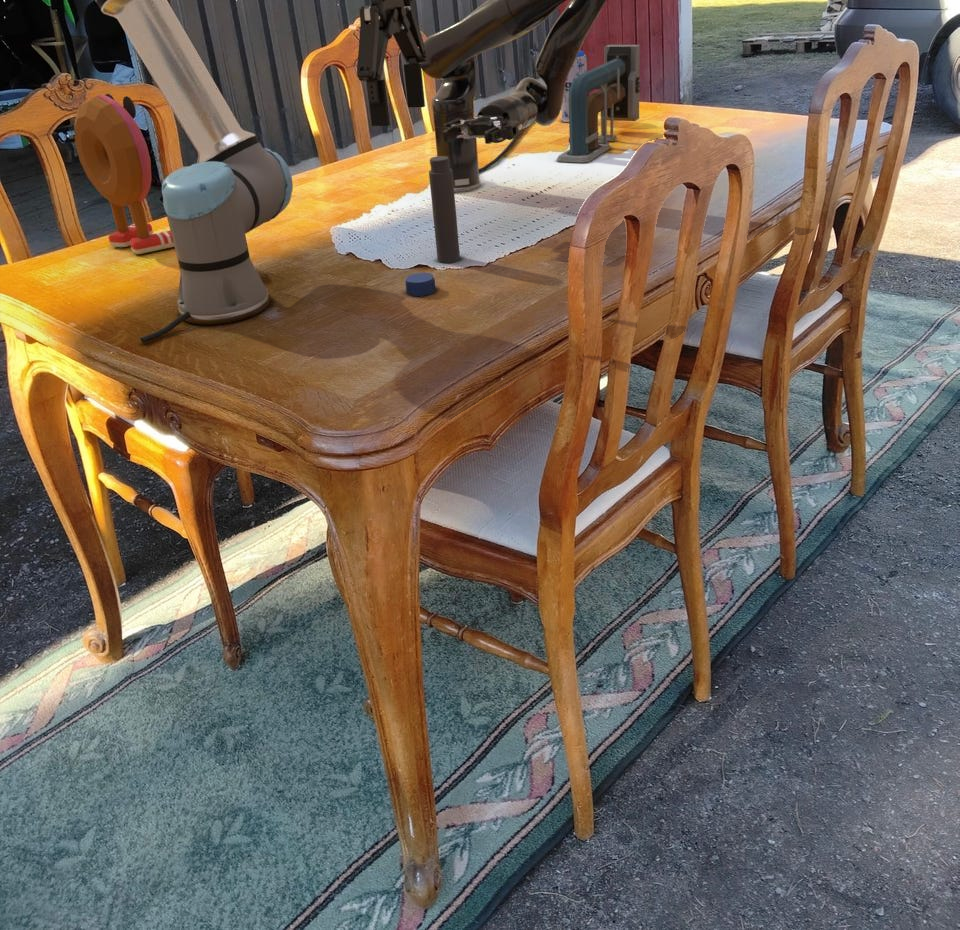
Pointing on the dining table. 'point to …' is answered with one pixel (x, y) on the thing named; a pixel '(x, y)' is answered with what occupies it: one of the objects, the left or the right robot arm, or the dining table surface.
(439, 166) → the bottle
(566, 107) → the aerosol can
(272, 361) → the dining table surface
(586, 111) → the clamp
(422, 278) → the lid
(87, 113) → the toy
